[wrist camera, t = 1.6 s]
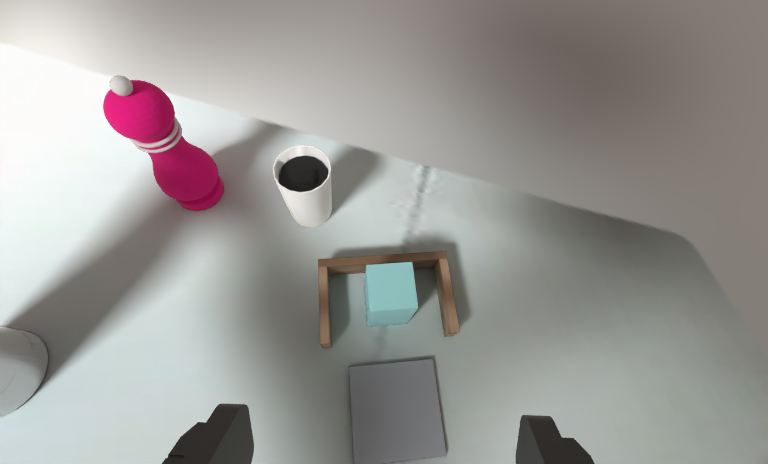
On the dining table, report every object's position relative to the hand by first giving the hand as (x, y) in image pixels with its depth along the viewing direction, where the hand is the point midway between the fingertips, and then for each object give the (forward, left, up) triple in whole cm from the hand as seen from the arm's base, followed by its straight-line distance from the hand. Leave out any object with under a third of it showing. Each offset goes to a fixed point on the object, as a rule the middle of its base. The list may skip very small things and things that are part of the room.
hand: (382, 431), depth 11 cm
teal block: (+11, +4, -34) cm, 36 cm away
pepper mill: (+9, +35, -34) cm, 49 cm away
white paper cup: (+16, +21, -34) cm, 43 cm away
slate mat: (+2, -3, -34) cm, 34 cm away
